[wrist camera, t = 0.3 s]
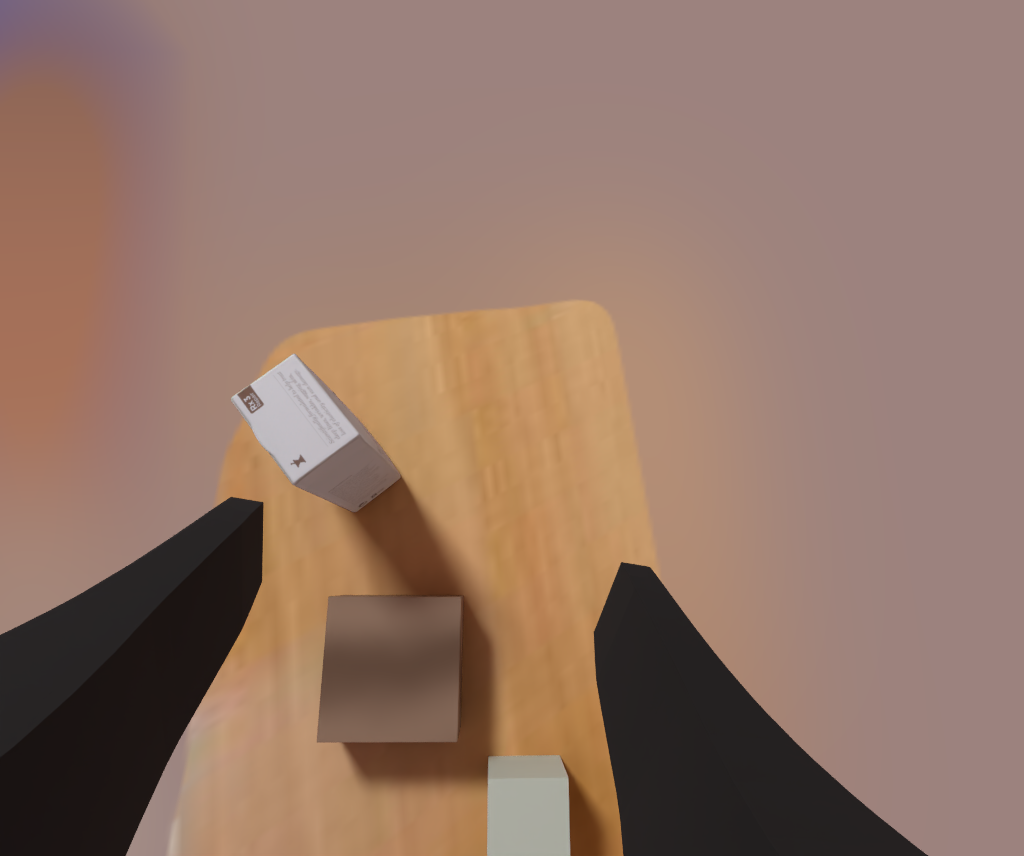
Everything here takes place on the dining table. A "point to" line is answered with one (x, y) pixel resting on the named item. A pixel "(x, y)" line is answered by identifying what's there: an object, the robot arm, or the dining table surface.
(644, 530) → the dining table surface
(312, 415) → the skincare box
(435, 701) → the walnut block
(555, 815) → the sage cube
